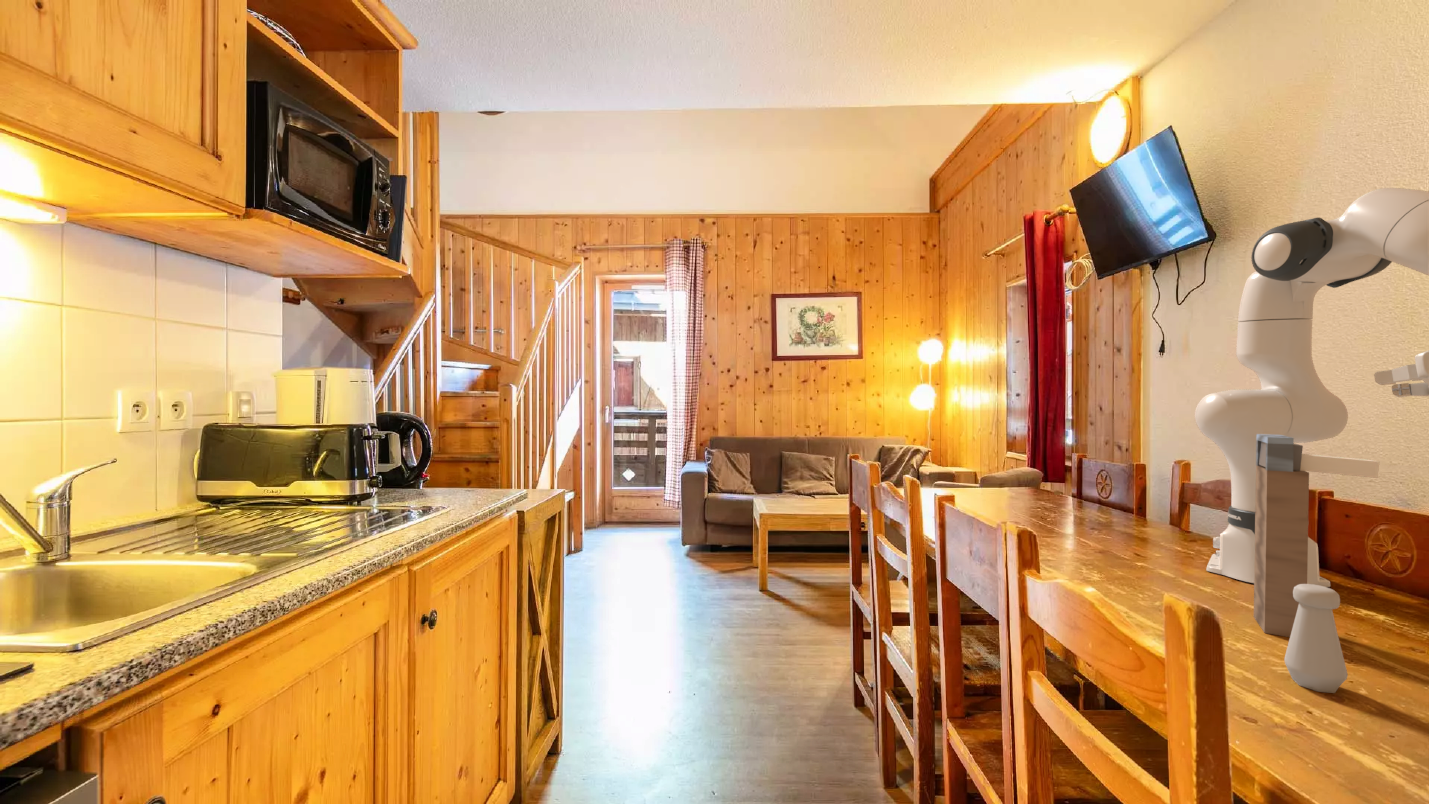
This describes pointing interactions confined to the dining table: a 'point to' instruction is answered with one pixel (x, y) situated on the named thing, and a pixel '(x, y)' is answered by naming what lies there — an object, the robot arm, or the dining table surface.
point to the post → (1279, 535)
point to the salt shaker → (1315, 640)
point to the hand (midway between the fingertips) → (1384, 385)
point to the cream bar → (1328, 463)
